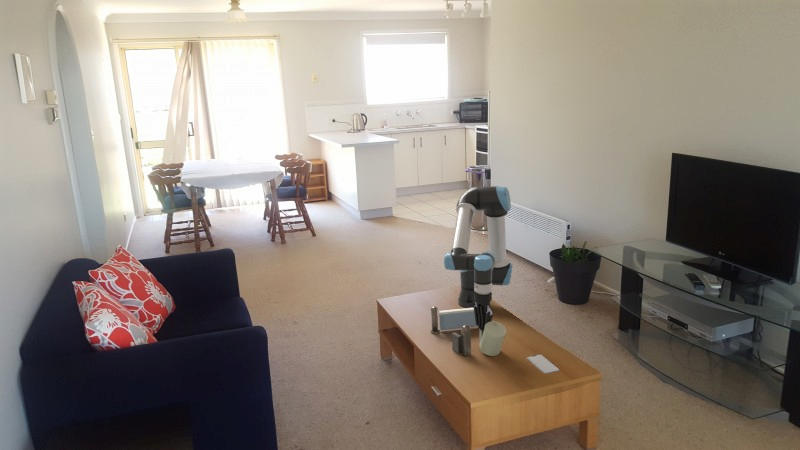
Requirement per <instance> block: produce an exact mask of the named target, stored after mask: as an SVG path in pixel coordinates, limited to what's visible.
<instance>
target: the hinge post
mask: <svg viewBox="0 0 800 450" xmlns="http://www.w3.org/2000/svg"><path fill="white" fill-rule="evenodd" d="M438 311H439V310H438V306H431V308H430V312H431V330H430V331H429V332H430V333H431V334H432V335H438V334H440V333H441V330H440V329H439V323H438V322H439V321H438V320H439V319H438V318H439V315H438Z"/></svg>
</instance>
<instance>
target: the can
mask: <svg viewBox="0 0 800 450" xmlns="http://www.w3.org/2000/svg"><path fill="white" fill-rule="evenodd" d="M506 334H507V328H506V327H505V325H504V324H502V323H501V322H499V321H493V320H491V322H488V323H486V325H485V329H484V332H483V336H482V339H481V342H480V343H479V346H478V347H479V350H480V351H481V352H482V353H483V354H485V355H487V356H489V357H494V356H498V355H499V354H500V353H501V351H502V350H501V348H502V346H503V343H504V340H505V337H506Z"/></svg>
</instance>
